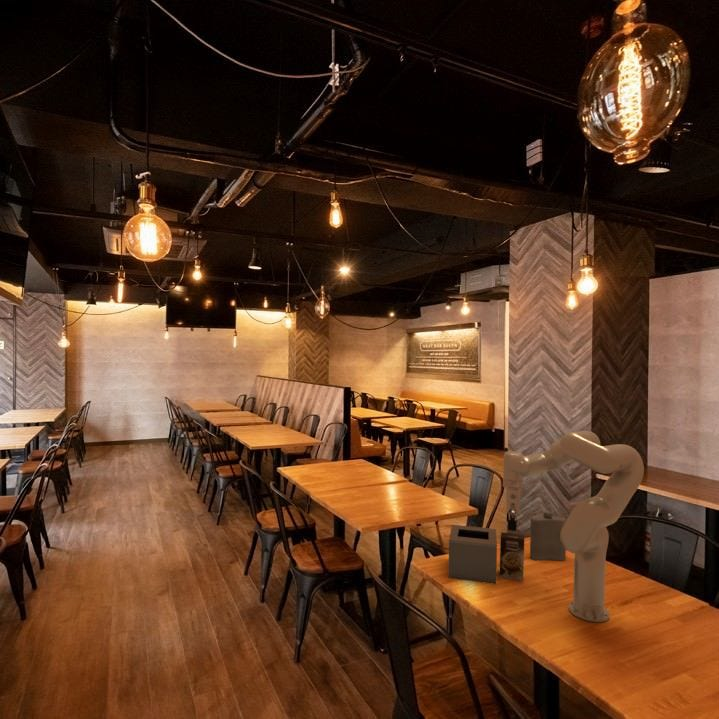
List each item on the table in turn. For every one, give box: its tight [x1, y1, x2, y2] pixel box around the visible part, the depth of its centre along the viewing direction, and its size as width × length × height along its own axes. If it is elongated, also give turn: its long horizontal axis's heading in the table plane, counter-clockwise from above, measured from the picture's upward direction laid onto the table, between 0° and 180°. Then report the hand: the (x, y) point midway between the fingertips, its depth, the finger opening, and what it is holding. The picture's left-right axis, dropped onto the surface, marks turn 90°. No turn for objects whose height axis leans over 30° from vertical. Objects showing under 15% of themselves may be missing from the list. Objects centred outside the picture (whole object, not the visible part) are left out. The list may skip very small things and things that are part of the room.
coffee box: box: [498, 531, 525, 582], centre depth 193 cm, size 9×6×16 cm
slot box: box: [448, 524, 498, 585], centre depth 196 cm, size 18×18×15 cm
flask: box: [529, 510, 567, 562], centre depth 211 cm, size 15×6×20 cm, turn 90°
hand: (511, 525), depth 193 cm, fingers open, 9 cm apart
